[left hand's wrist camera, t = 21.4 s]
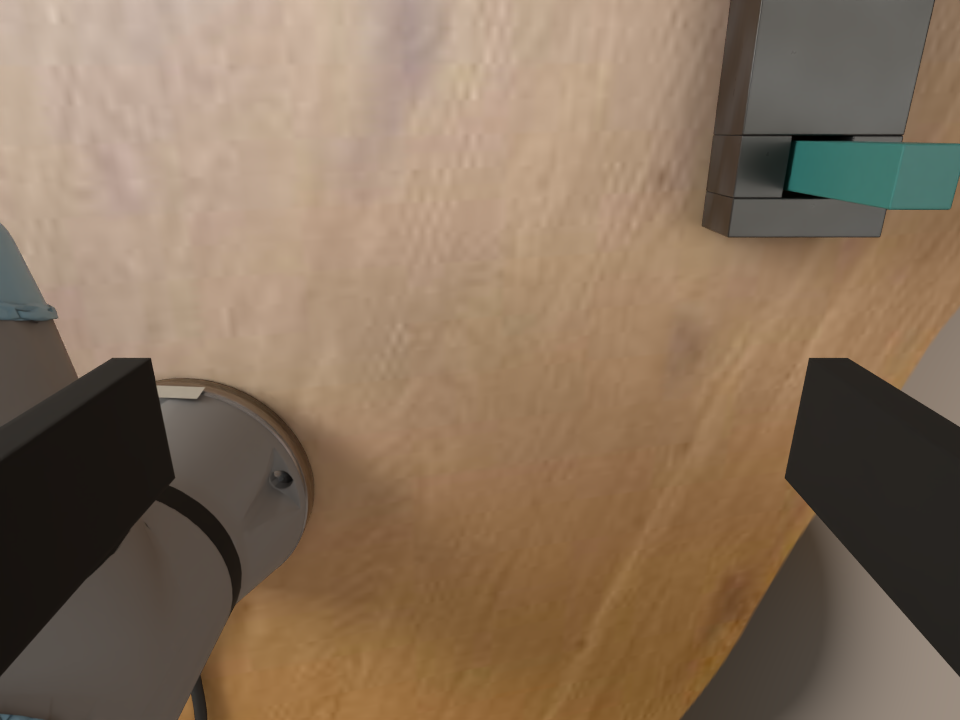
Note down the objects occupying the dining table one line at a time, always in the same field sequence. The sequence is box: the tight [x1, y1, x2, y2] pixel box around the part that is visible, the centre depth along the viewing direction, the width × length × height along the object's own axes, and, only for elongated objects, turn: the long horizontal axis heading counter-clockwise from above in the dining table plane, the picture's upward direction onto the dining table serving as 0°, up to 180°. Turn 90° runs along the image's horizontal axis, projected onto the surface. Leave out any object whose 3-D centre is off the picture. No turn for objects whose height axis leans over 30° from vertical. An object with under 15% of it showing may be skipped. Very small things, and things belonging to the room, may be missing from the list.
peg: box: [783, 140, 960, 210], centre depth 28 cm, size 2×2×12 cm
